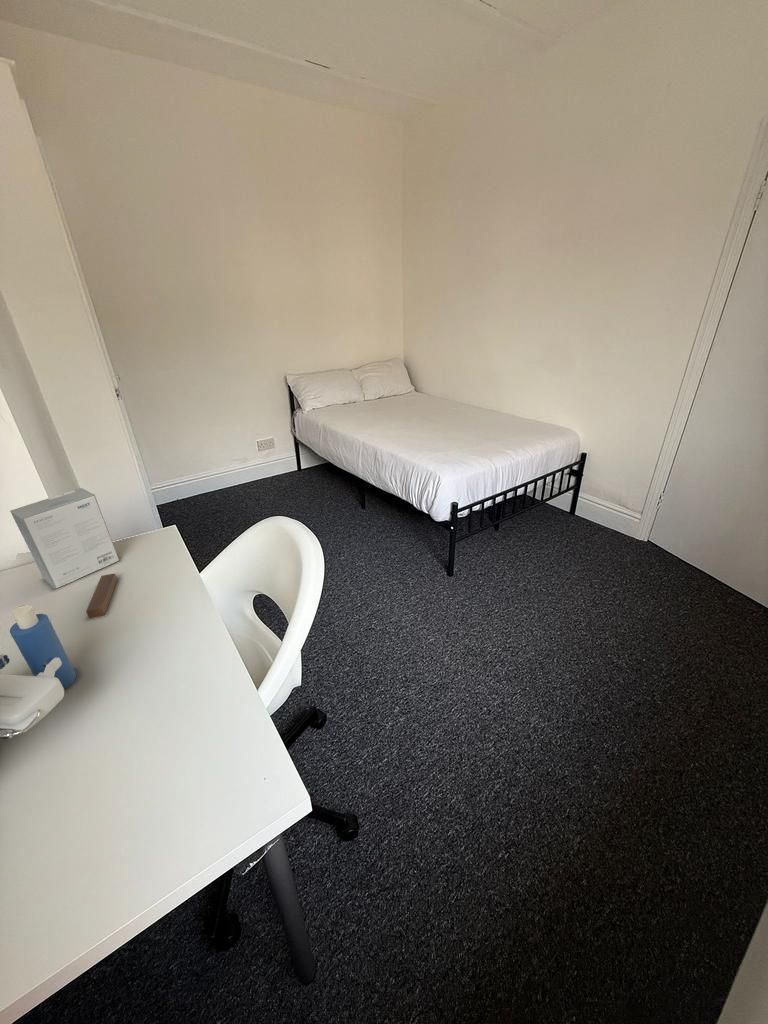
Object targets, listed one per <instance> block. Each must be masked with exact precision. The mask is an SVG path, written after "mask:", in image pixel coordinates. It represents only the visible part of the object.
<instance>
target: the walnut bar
mask: <svg viewBox="0 0 768 1024" xmlns="http://www.w3.org/2000/svg"><path fill="white" fill-rule="evenodd" d="M116 575H117V574H116V573H110V574H104V575H101V576H100V578H99V580H98V582H97V585H96V587H95V589H94V592H93V595H92V597H91V599H90V600H89V601H90V602H89V603H88V606H87V607H86V611H85V612H86V614H87V617H88V618H89V619H91V618H97V617H102V616H105V614H106V611H107V609H108V606H109V603H110V601H111V599H112V595H113V592H114V590H115V587H116V585H117V582H118V578H117V576H116Z"/></svg>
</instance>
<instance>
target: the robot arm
mask: <svg viewBox="0 0 768 1024" xmlns="http://www.w3.org/2000/svg"><path fill="white" fill-rule="evenodd" d="M10 662H11V659H10V658H9V656H8V654H0V670H2V669H4V668H5V667H6V666H7V665H8V664H9V663H10ZM61 664H62V662H61V660H60V658H56V657H50V658H48V660H47V661H45V662H44V663H43V666H44V667H45V670H44V673H43V672H40V673H39V674H38V675H37V676H34V675H21V674H3V673H0V739H3V740H5V739H6V740H7V739H12V738H13V737H14V736H18V735H20V734H22V733H26V732H28V731H29V730H30V729H31V728H32V727H34V726H35V725H36V724H38V723H39V722H40V721H41V720H42V719H44V717H45V716H47V715H48V714H49V713H50V712H51V711H52V710H53V709H54V708H55V707H56V706H57V705H58V704H59V703H60V702H61V701H62V700H63V699H64V697H65V689H64V688H63V686H62V684H61V682H60V681H59V679H58V678H56V677H54V675H55V671H56V670H57V669H58V668H59V667H60V666H61Z"/></svg>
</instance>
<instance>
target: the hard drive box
mask: <svg viewBox="0 0 768 1024" xmlns="http://www.w3.org/2000/svg"><path fill="white" fill-rule="evenodd" d="M9 513H10V514H11V516H12V518H13V520H14V522H15V524H16V527H17V528H18V530H19V532H20V534H21V537H22V538H23V540H24V542H25V544H26V546H27V549H28V550H29V552H30V554H31V556H32V559H33V561H34V562H35V564H36V566H37V568H38V570H39V572H40V574H41V577H42V578H43V580H44V581H45V582H46V583H47V584H48V585H49V586H50V587H52V588H53V589H54V590H56V589H59V588H60V587H63V586H65V585H67V584H70V583H72V582H75V581H77V580H79V579H80V578H81V579H82V578H83V577H85V576H88V575H90V574H92V573H94V572H97V571H99V570H101V569H104V568H106V567H108V566H110V565H113V564H115V563H117V562H119V561H120V557H119V554H118V553H117V549H116V548H115V545H114V543H113V540H112V537H111V534H110V532H109V530H108V526H107V524H106V521H105V518H104V516H103V513H102V511H101V508H100V505H99V502H98V500H97V497H96V494H95V493H92V492H90V491H88V490H87V489H85V488H83V487H80V488H76V489H73V490H69V491H67V492H63V493H61V494H57V495H54V496H50V497H48V498H45V499H41V500H39V501H36V502H32V503H29V504H26V505H23V506H20V507H17V508H14V509H11V510H9Z"/></svg>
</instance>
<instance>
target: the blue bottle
mask: <svg viewBox="0 0 768 1024" xmlns="http://www.w3.org/2000/svg"><path fill="white" fill-rule="evenodd" d="M11 615H12V617H13V619H14V621H15V622H14V623H13V624H12V625H11V627H9V633H10V635H11V637H12V639H13V641H14V642H15V645H16V646H17V648H18V650H19V652H20V653H21V655H22V657H23V658H24V660H25V662H26V664H27V666H28V667H29V670H30V671H31V673H32V674H33V675H32V676H37V675H38V674H39V673H40V672H43V673H44V670H45V667H44V666H43V663H44V662H45V661H47V660H48V658H50V657H56V658H60V660H61V662H62V664H61V666H60V667H59V668H58V669H57V670H56V671H55V675H54V677H56V678H58V679H59V681H60V682H61V684H62V686H63V688H64V690H65V689H68V687H70V686H71V685H72V684H73V683H74V682H75V680H76V678H77V673H76V671H75V669H74V667H73V665H72V663H71V661H70V659H69V656H68V654H67V652H66V650H65V648H64V646H63V644H62V643H61V640H60V639H59V636H58V634H57V632H56V629H55V628H54V626H53V624H52V622H51V620H50V618H49V616H48V615H47V614H45V613H36V612H35V610H34V608H33V606H32V605H30V604H24V605H22V606H19V607H17V608H15V609H14V610H13V611H12V612H11Z"/></svg>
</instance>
